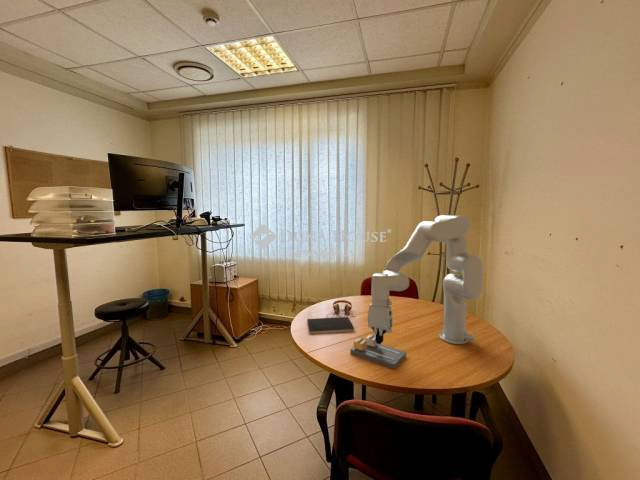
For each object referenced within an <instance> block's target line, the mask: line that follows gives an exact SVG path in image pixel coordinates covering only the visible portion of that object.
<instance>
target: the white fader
mask: <svg viewBox="0 0 640 480" xmlns="http://www.w3.org/2000/svg"><path fill="white" fill-rule="evenodd" d="M375 338H376V334H375V333H373V334H368V336H366V337H365V339H366V340H367V341H366V345H369V346H372V347H374V346H375V345H377V343H376V340H375Z"/></svg>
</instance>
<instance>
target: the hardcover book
mask: <svg viewBox="0 0 640 480" xmlns="http://www.w3.org/2000/svg"><path fill="white" fill-rule="evenodd" d="M306 321H307V325H308V330H309V334H311V335H313V334H314V335H315V334H331V333H347V332H348V333H349V332H351V333H352V332H354V331H355V326H354V325H353V323H352V321H351V319H350V317H349V316H345V317H344V316H341V317H340V316H335V317H332V318H331V317H321V318H320V317H319V318H307V320H306Z"/></svg>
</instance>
